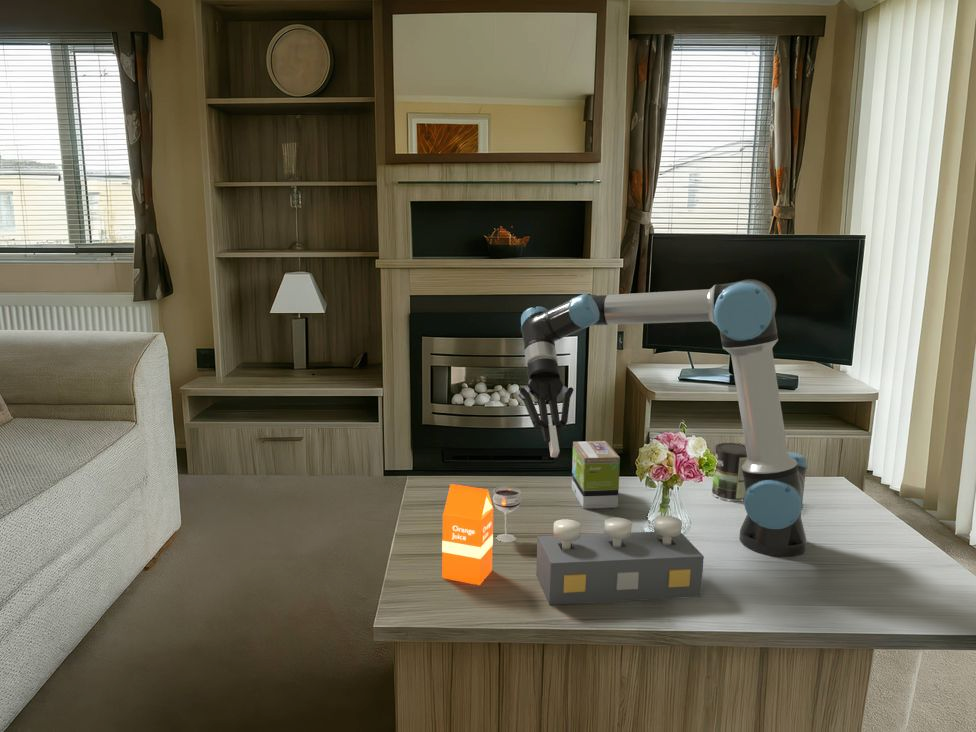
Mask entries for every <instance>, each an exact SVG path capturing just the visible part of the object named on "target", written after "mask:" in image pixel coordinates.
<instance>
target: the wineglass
mask: <svg viewBox="0 0 976 732" xmlns="http://www.w3.org/2000/svg"><path fill="white" fill-rule="evenodd" d="M492 492H493V496H492V504H493V505H494V507H495V508H496V509H497V511H500V512H502V513H503V514H504V533H502V534H501V533H500V534H498V535H496V536H497V537H496V536H495V540H496V539H497V540H498V541H497V540H496V541H497V542H500V541H501V542H500V543H513V542H515V541H516V539H517V538H516V536H515V535H513V534H510V533H507V532H508V519H509V518H508V517H509V514H510V513H512V512H514V511H516V510H517V509H518V508H519V507H520V504H521V500H522V498H521V496H520V494H521V493H522V492H521V490H520V488H517V487H514V486H507V485H506V486H503V485H502V486H498V487H495V488H494V489H493V490H492ZM514 536H515V537H514Z"/></svg>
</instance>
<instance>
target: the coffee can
mask: <svg viewBox="0 0 976 732" xmlns="http://www.w3.org/2000/svg"><path fill="white" fill-rule="evenodd" d="M714 454H715V456H714V458H715V457H716V458H717V461H718V462H717V466H716V470H715V472H714V471H713V478H712V479H713V480H712V489H711V494H713V495H715V496H716V497H718V498H720V499H719V500H721V499H724V500H723V501H725V500H730V501H729V502H731V501H742V500H744V496H745V493H746V492H745V485H744V479H743V472H742V465H743V464H744V463H745V462H746V460H747V452H746V446H745V444H742V443H738V442H736V443H735V442H722V443H717V444H715V453H714ZM713 495H712V496H713ZM715 496H714V497H715ZM716 497H715V498H716ZM718 498H717V499H718ZM742 502H743V501H742Z"/></svg>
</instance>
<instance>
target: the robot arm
mask: <svg viewBox="0 0 976 732" xmlns="http://www.w3.org/2000/svg"><path fill="white" fill-rule="evenodd" d="M776 310H777V298H776V296H775V293H774V291H773V290H772V289H771V287H770V286H768V285H767V284H766V283H765V282H762V281H760V280H757V279H743V280H740V281H735V282H730V283H729V282H728V283H723V284H722V283H720V284H714V285H713V286H712V287H711V288H709V289H707V288H706V289H692V290H691V289H690V290H674V291H672V290H671V291H657V292H656V291H654V292H652V291H651V292H637V293H622V294H621V293H619V294H618V293H617V294H604V295H603V294H601V295H597V294H587V293H583V294H580V295H578V296H575V297H572V298H571V299H569V300H567V301H565V302H563V303H560V304H559V305H557V306H556V307H554V308H551V309H547V308H546V307H543V306H536V307H529V308H527V309H526V310H524V311H523V312H522V314H521V317H520V325H521V326H520V332H521V335H522V341H523V349H524V359H525V365H526V374H527V375H526V376H527V380H528V381H527V385H526V386H525V387H520V389H519V392H518V397H519V398H520V399H521V400H522V401H523V403H524V406H525V409H526V410H527V413H528V415H529V418H530V421H531V422H532V423H531V424H532V426H533V428H534V429H540V431H541V432H542V436H543V441H544V443H548V447H549V448H548V449H549V453H550V454H549V455H550V458H558V457H559V454H560V446H559V445H560V444H559V443H561V440H562V436H563V435H562V431H561V429H565V428H566V426H567V423H568V419H569V411H570V403H571V402H570V401H571V397H572V395H573V392H574V391H575V390H574V388H573V387H567V386H565V385H564V382H563V381H562V380H561V375H560V368H559V363H558V355H557V350H556V342H557V341H559V340H562V339H563V338H565V337H567V336H569V335H572V334H574V333H577V332H580V331H581V330H584V329H587V328H588V327H591V326H608V325H635V324H667V323H669V324H670V323H695V322H696V323H698V322H711V323H712V324H714V325H715V326H716V327H717V329H718V330H719V334H720V340H721V345H722V349H723V350H724V351H726V352H728V354H730V358H731V362H732V369H733V370H732V371H733V376H734V383H735V389H736V395H737V399H738V400H737V401H738V407H739V413H740V414H739V415H740V420H741V426H742V432H743V433H742V434H743V439H744V445H745V446H746V452H747V460H746V462H745V463H744V464H743V465H742V472H743V479H744V485H745V492H746V493H745V496H744V501H743V505H744V510H745V512H746V516H745V518H744V520H743V523H742V524H741V527H740V529H739V542H741V544H742V545H744V546H745V548H748V549H749V550H750V549H751V550H752V551H755V552H757V553H761V554H764V555H770V556H776V557H793V556H799V555H801V554H803V553H804V552H805V551H806V547H807V537H806V533H805V532H806V531H805V528H804V525H803V521H802V511H803V507H804V503H803V500H804V492H805V485H806V484H805V481H806V473H807V469H808V467H807V466H808V465H807V462H808V461H807V458H806V457H805V456H804V455H803V454H800V453H798V452H793V451H789V449H788V444H787V437H786V431H785V424H784V417H783V411H782V405H781V397H780V392H779V385H778V379H777V372H776V366H775V359H774V351H773V348H774V346H775V345H776V344H777V342H778V341H779V336H778V328H777V322H776V317H775V315H776ZM560 394H562V397H563V401H562V408H561V417H560V412H559V408H558V401H557V398H558V396H559V395H560ZM531 395H532V396H533V397H534V398H535V399H536V400H537V405H538V409H539V413H538V410H537V408H536V406H535V403H534V401H533V399H532V397H531ZM547 401H548V402H547ZM547 403H548V405H549V411H550V418H551V424H552V425H550V421H549V416H548V407H547Z"/></svg>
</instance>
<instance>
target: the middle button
mask: <svg viewBox="0 0 976 732" xmlns="http://www.w3.org/2000/svg"><path fill="white" fill-rule="evenodd" d="M632 524H633V523H632V521H631V520H629V519H628V518H627V519H626V518H623V517H618V516H617V517H610V518H606V519H605V520H604V527H603V528H604V529H603V530H604V531H603V534H605V535H607V536H608V537H611V538H613V547H621V543H622V539H625V538H629V537H630V536H631V533H632V529H633V528H632V526H633V525H632Z"/></svg>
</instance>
